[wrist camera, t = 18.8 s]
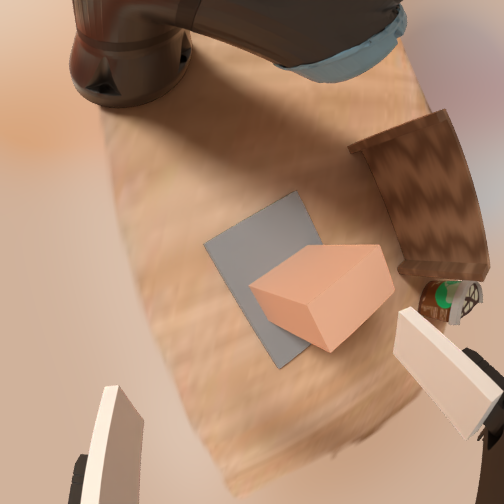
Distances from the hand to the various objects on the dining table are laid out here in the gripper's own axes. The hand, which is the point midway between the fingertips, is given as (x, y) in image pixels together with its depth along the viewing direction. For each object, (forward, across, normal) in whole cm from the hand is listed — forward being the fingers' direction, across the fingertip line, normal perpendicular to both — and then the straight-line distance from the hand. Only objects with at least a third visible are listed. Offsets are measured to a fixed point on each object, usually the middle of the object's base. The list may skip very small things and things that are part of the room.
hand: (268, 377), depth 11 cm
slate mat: (+21, +6, -7) cm, 23 cm away
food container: (+26, +36, -21) cm, 49 cm away
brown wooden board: (+27, +25, -3) cm, 37 cm away
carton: (+20, +6, -7) cm, 23 cm away
